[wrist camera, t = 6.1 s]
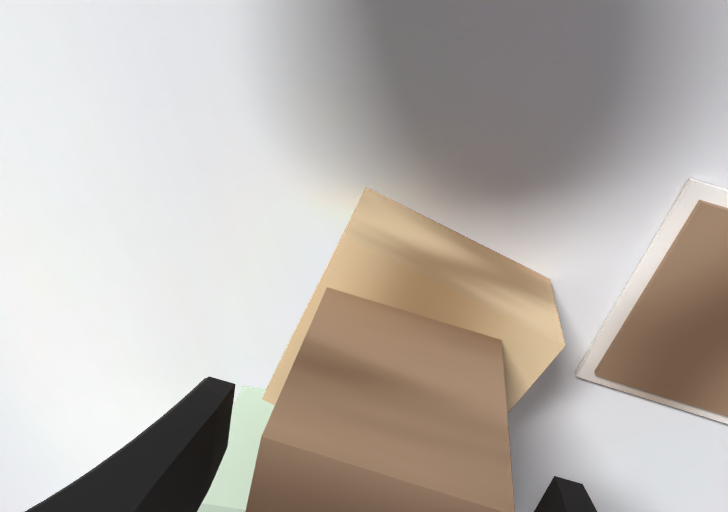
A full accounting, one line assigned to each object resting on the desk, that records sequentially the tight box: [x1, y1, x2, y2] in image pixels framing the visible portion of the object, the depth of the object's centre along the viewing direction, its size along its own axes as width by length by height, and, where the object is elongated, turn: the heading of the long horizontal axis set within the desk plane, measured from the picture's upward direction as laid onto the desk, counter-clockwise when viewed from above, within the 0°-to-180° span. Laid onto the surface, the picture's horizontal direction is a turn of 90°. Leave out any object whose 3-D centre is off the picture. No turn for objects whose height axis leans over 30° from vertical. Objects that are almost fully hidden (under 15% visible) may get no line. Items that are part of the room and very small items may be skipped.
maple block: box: [262, 187, 565, 414], centre depth 16 cm, size 6×6×4 cm
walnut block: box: [245, 287, 515, 512], centre depth 13 cm, size 4×4×5 cm
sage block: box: [197, 386, 275, 512], centre depth 19 cm, size 4×4×5 cm
